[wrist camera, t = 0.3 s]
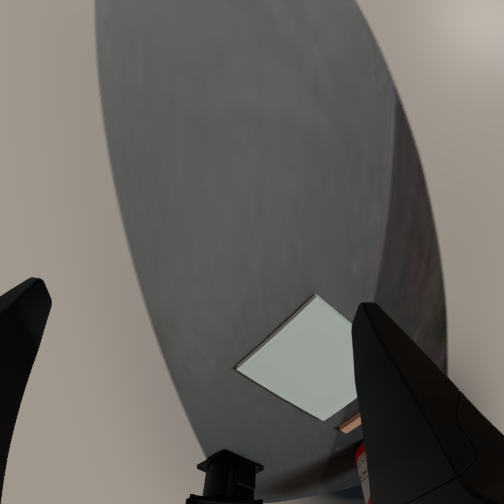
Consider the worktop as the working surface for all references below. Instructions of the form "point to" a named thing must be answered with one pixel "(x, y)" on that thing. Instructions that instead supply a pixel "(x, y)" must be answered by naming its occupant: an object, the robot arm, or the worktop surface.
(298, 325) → the grey board and stick
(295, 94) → the worktop surface
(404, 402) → the robot arm
